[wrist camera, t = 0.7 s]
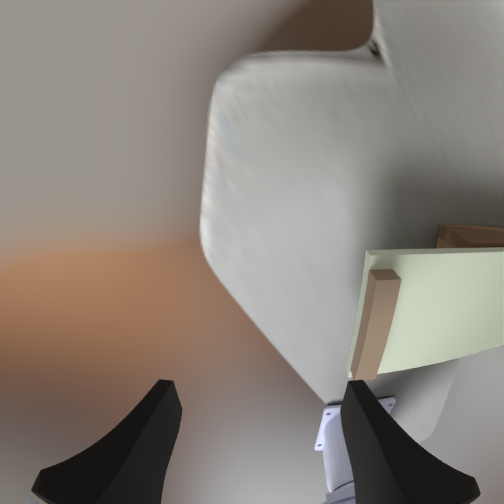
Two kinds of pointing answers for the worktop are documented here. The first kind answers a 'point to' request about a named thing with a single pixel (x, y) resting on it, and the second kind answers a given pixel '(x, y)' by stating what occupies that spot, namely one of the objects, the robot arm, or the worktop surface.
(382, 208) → the worktop surface
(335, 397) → the worktop surface
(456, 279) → the wood-edged cream panel
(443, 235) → the pencil box
